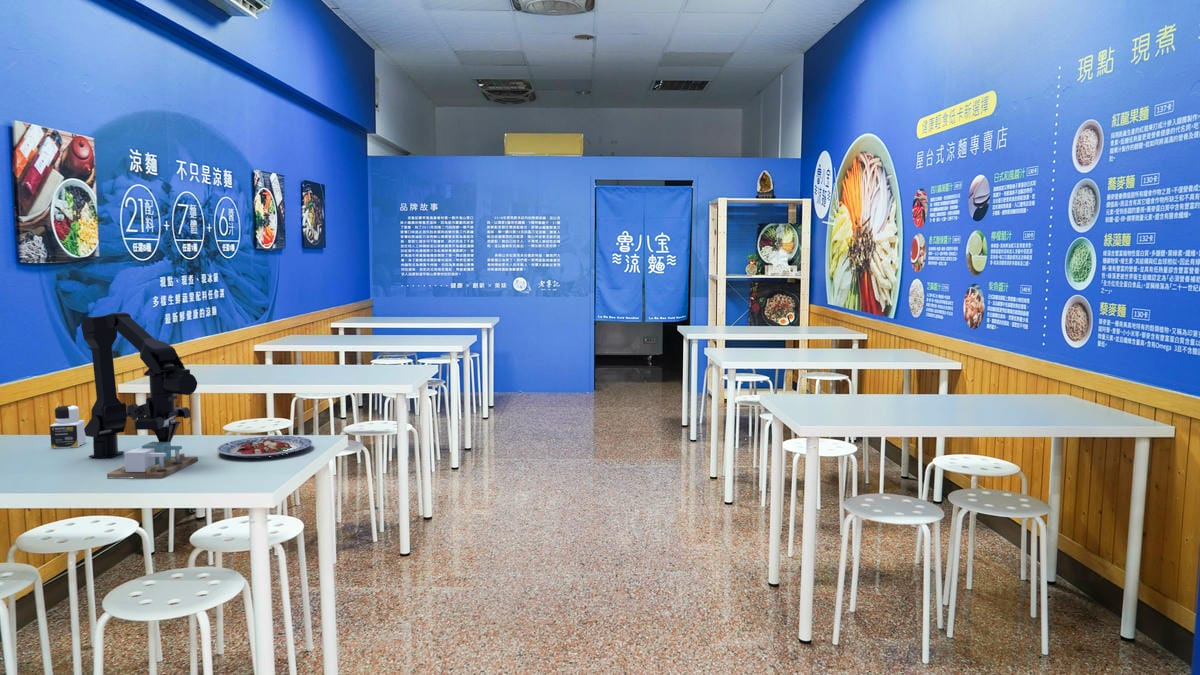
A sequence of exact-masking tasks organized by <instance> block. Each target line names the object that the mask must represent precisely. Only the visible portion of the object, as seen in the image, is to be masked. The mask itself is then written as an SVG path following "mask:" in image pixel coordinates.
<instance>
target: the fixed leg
mask: <svg viewBox="0 0 1200 675" xmlns="http://www.w3.org/2000/svg"><path fill="white" fill-rule="evenodd" d="M165 456H166V453H155V448H142V447H141V448H135V447H134V448H133V449H130V450H128V451H125V452H124V466H125V472H146V469H148V468H150V467H153V466H155V457H159V466H160V468H164V458H163V457H165Z"/></svg>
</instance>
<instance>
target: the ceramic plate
mask: <svg viewBox="0 0 1200 675" xmlns="http://www.w3.org/2000/svg"><path fill="white" fill-rule="evenodd" d="M283 436H284V437H283ZM312 444H313V441H312V440H311V439H310V438H307V437H301V436H295V437H294V436H293V435H271V436H267V435H266V436H256V437H247V438H241V439H236V440H231V441H228V442H225V443H222V444H220V445H219V446H218V447H217V448H216V450H217V452H218V453H219V454H221V455H226V456H232V457H236V458H241V457H243V458H244V459H258V458H257V457H269V456H277V455H282V454H286V453H291V452H293V453H295V452H298V451H301V450H305V449H307V448H308V447H311V445H312ZM290 445H294V446H296V447H297V448H296V449H293V450H288V451H283V450H287V449H290V448H292V447H291V446H290ZM294 451H295V452H294ZM291 454H292V453H291ZM277 457H278V456H277ZM269 458H270V457H269Z"/></svg>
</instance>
